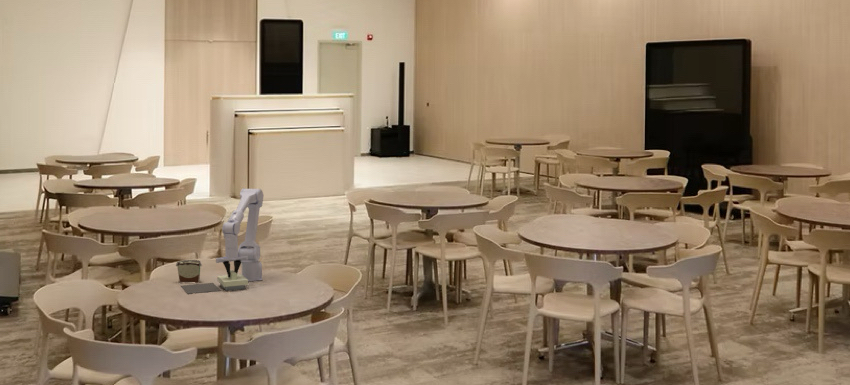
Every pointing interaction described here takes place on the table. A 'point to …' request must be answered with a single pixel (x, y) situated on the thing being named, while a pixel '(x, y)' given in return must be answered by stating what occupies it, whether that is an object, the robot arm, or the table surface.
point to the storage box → (233, 287)
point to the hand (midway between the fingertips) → (232, 276)
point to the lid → (232, 279)
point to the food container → (189, 270)
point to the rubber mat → (200, 288)
